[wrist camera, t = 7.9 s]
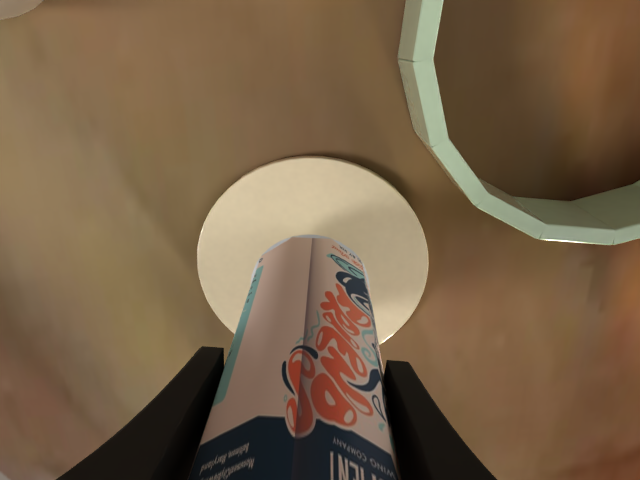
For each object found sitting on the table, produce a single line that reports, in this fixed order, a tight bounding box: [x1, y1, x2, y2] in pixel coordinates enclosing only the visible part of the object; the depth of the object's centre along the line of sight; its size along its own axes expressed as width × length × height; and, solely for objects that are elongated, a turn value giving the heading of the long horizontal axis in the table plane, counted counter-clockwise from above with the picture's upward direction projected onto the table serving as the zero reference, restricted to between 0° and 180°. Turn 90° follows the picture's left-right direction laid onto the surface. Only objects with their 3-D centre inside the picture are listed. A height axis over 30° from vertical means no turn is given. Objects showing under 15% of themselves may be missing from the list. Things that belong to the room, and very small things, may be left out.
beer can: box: [188, 235, 402, 480], centre depth 12 cm, size 5×5×12 cm
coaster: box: [197, 156, 428, 344], centre depth 18 cm, size 10×10×1 cm
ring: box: [398, 0, 640, 245], centre depth 13 cm, size 13×13×3 cm
